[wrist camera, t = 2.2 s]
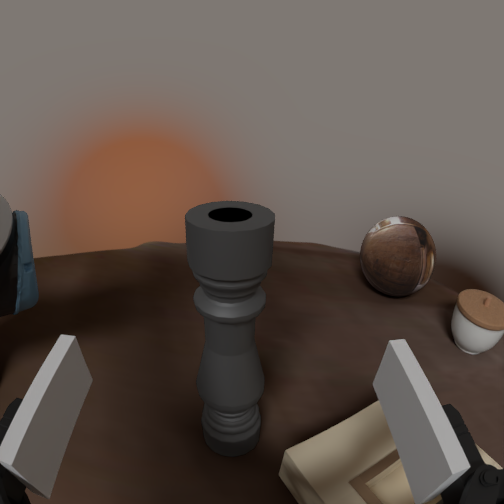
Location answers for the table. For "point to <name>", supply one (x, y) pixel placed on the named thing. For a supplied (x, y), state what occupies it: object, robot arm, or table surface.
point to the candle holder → (230, 316)
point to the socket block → (351, 464)
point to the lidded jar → (477, 321)
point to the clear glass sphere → (398, 256)
